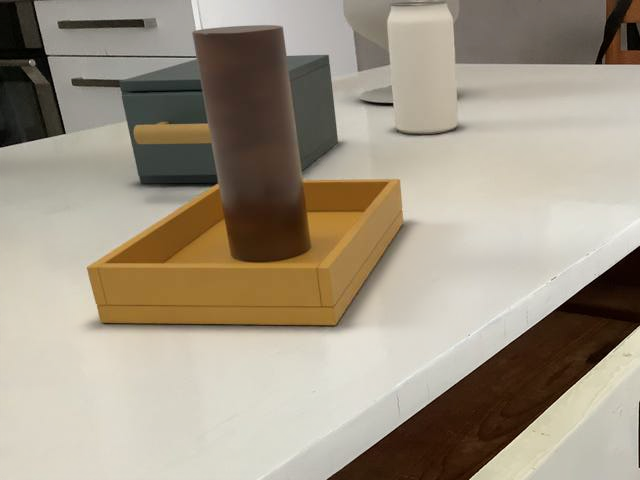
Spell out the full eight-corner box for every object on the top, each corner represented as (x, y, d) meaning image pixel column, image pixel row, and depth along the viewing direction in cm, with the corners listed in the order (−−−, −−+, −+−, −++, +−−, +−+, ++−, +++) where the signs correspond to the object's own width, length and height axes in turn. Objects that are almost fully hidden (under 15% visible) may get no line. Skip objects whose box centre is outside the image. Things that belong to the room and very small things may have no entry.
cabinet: (287, 182, 68) (273, 77, 65) (140, 183, 70) (118, 81, 66) (338, 142, 82) (328, 54, 79) (214, 144, 84) (199, 58, 80)
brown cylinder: (218, 262, 47) (176, 34, 42) (247, 237, 51) (213, 26, 46) (297, 262, 47) (265, 31, 42) (320, 237, 51) (294, 24, 46)
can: (446, 120, 90) (439, -1, 85) (467, 130, 85) (461, 1, 80) (388, 127, 88) (377, 3, 83) (405, 137, 83) (395, 5, 78)
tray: (100, 323, 42) (85, 267, 41) (229, 223, 58) (221, 180, 57) (336, 326, 41) (328, 267, 40) (403, 223, 56) (400, 178, 55)
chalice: (338, 96, 109) (325, -31, 103) (438, 86, 115) (431, -36, 108) (372, 111, 98) (360, -31, 91) (481, 99, 103) (477, -37, 96)
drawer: (255, 188, 63) (241, 101, 60) (111, 189, 64) (91, 104, 62) (324, 138, 80) (316, 68, 77) (209, 139, 81) (197, 71, 78)
